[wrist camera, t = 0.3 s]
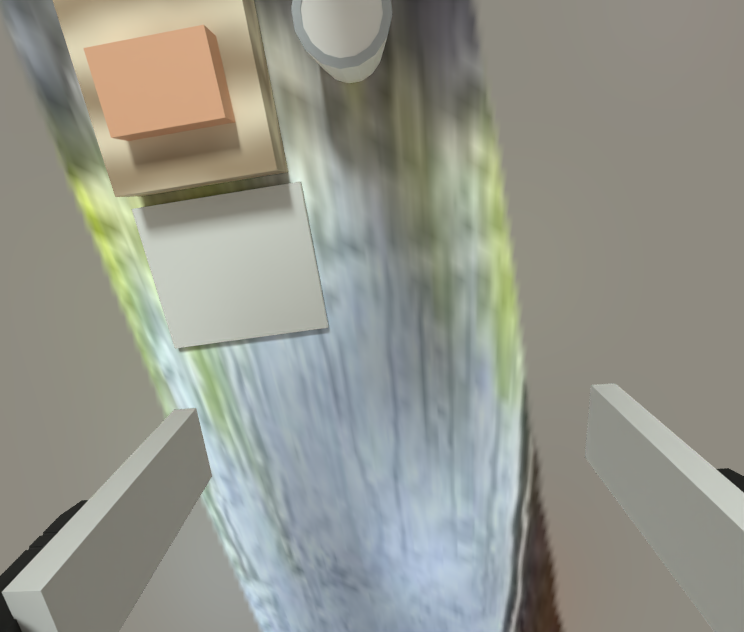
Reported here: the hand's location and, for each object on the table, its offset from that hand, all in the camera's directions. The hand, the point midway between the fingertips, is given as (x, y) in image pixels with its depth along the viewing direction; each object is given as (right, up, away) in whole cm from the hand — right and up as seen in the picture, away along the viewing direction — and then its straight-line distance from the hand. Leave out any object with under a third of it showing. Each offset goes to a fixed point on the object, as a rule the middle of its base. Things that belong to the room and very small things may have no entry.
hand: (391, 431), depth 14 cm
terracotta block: (-16, +22, +18) cm, 33 cm away
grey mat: (-14, +8, +26) cm, 31 cm away
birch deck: (-16, +24, +22) cm, 36 cm away
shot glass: (-2, +27, +21) cm, 34 cm away
